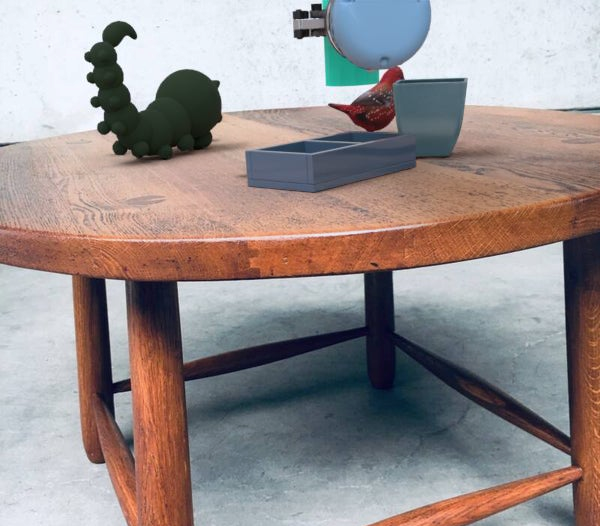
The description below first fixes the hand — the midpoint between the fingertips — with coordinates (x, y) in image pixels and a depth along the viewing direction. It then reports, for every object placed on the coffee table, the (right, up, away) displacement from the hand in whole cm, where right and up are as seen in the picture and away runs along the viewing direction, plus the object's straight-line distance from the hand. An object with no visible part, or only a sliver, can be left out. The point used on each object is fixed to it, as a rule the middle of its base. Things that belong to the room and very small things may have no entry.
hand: (350, 21), depth 103 cm
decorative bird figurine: (+4, -7, +25) cm, 26 cm away
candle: (0, -8, -2) cm, 8 cm away
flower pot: (+11, -13, +10) cm, 20 cm away
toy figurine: (-24, -9, +25) cm, 36 cm away
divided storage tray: (-2, -18, -1) cm, 18 cm away
